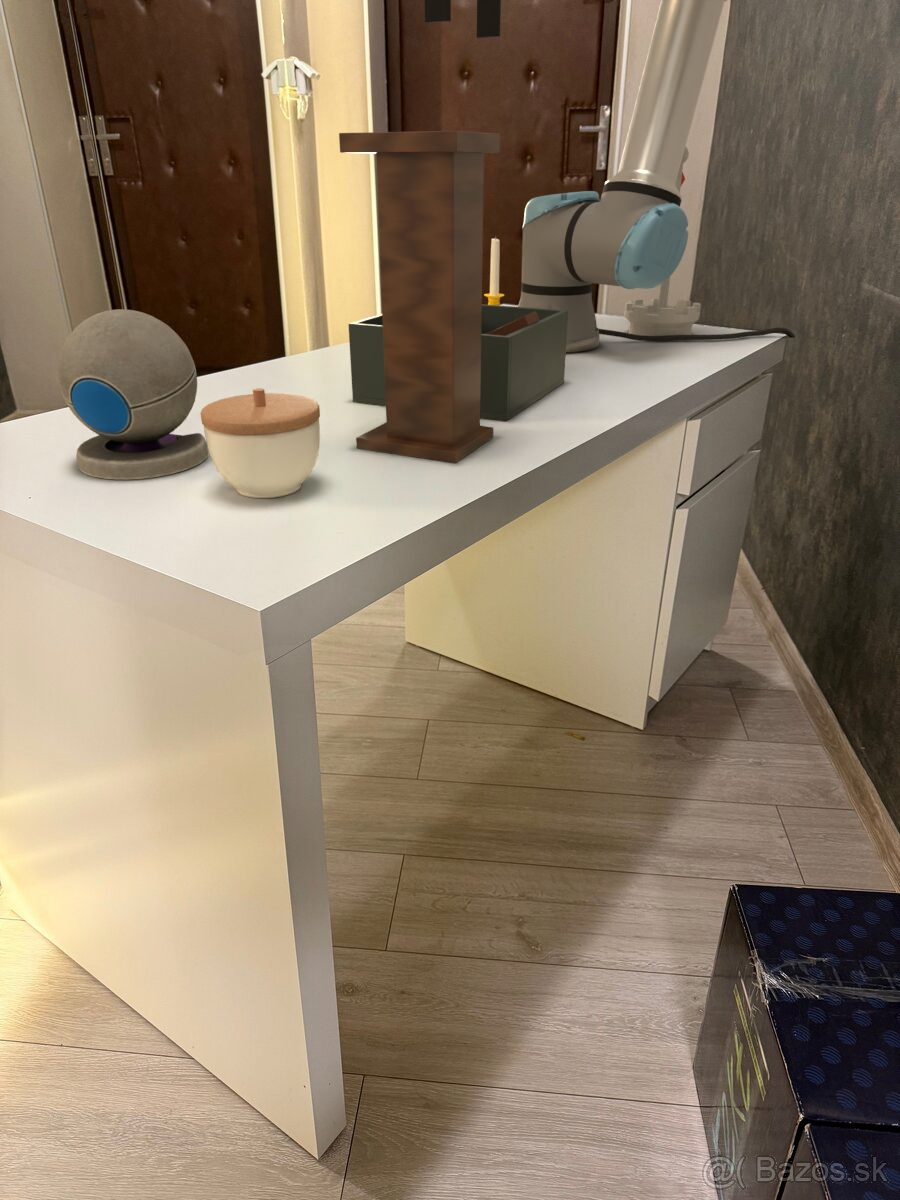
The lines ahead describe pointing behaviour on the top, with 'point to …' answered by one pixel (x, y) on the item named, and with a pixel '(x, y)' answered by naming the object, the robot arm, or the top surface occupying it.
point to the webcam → (130, 395)
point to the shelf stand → (429, 288)
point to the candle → (494, 274)
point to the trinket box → (263, 441)
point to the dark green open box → (508, 363)
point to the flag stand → (663, 304)
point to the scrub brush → (516, 325)
